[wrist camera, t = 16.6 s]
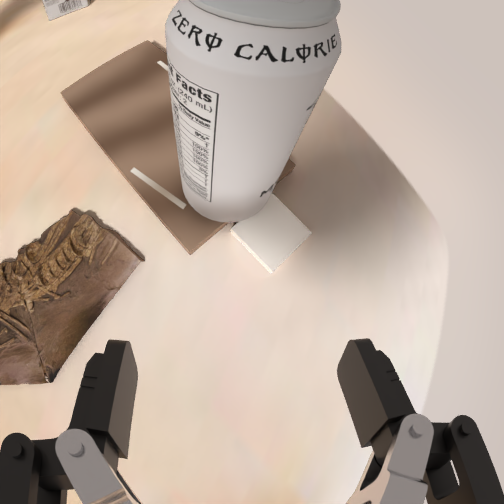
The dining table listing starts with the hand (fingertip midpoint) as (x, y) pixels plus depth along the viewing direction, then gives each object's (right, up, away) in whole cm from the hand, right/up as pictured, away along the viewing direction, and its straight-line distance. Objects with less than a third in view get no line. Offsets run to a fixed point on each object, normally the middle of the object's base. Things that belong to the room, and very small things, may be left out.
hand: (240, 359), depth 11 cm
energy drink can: (-1, +8, +10) cm, 13 cm away
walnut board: (-7, +14, +12) cm, 20 cm away
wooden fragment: (-19, -2, +7) cm, 20 cm away
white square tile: (+2, +5, +11) cm, 13 cm away
